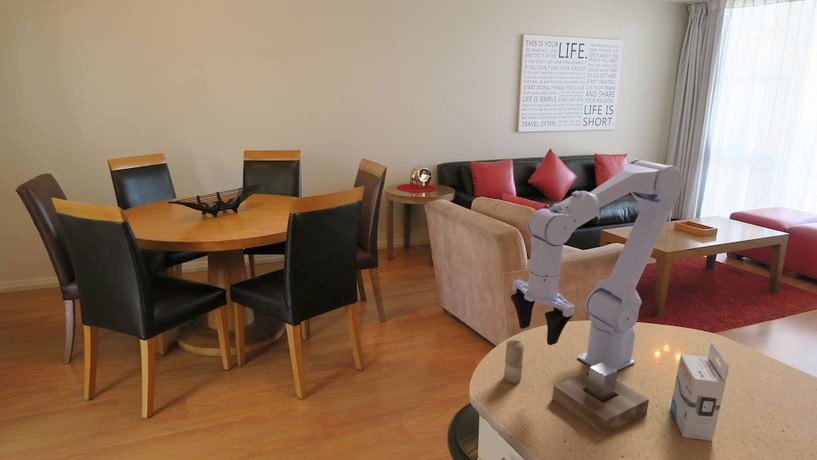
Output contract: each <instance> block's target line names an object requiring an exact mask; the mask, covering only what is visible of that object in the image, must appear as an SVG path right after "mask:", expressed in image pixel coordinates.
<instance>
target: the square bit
mask: <svg viewBox="0 0 817 460" xmlns="http://www.w3.org/2000/svg"><path fill="white" fill-rule="evenodd" d="M588 371H589V378H588V385H587V393H588V394H589V395H591V396H593V397H594V398H596V399H597V400H599V401H600V402H602V403H604V402H606V401H608V400H610V399H612V398H613V397H614V390H615V384H616V380H617V377H618V370H615V369H613V368H611V367H610V366H608V365H606V364H604V363H603V362H602V363H599V364H597V365H594V366H589V370H588Z"/></svg>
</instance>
